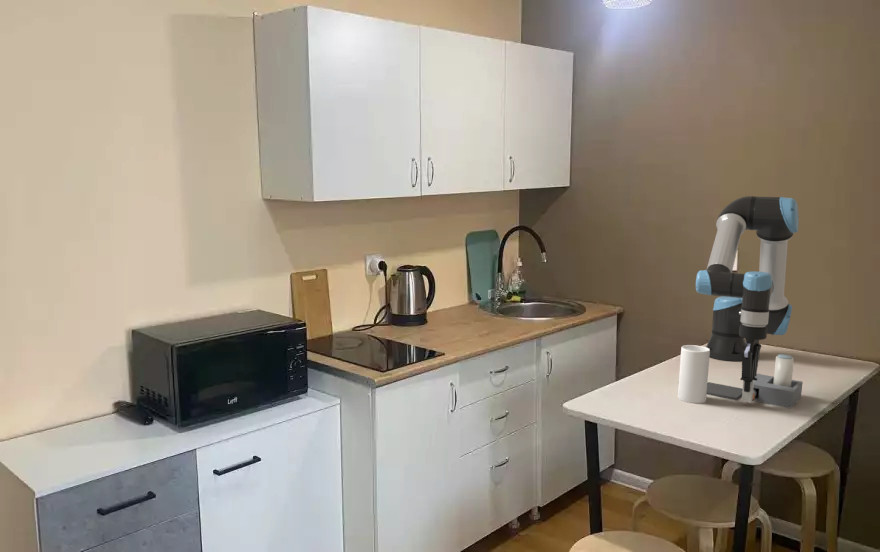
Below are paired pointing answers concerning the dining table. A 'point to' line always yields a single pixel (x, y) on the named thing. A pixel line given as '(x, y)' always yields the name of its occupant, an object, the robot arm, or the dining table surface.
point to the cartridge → (783, 370)
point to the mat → (724, 391)
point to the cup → (693, 373)
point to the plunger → (754, 393)
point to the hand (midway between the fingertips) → (746, 401)
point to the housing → (777, 391)
